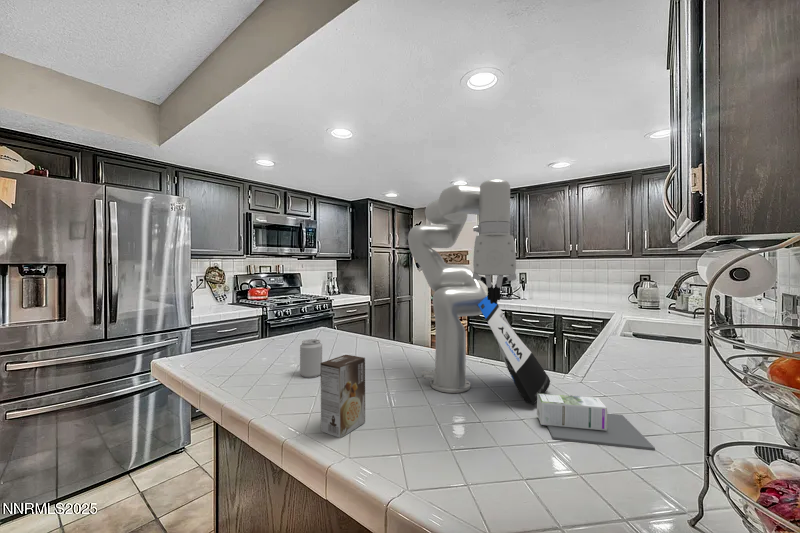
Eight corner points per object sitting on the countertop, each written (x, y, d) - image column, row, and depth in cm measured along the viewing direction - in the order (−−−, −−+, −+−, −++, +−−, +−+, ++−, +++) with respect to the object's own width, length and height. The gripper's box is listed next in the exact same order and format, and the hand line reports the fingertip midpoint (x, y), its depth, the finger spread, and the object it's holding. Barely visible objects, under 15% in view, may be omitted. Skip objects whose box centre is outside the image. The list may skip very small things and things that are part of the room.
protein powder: (550, 367, 111) (503, 286, 115) (550, 399, 89) (492, 297, 93) (523, 377, 114) (478, 298, 118) (517, 410, 92) (463, 311, 96)
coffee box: (345, 416, 86) (346, 353, 86) (366, 422, 83) (366, 357, 83) (319, 431, 79) (319, 362, 78) (340, 439, 75) (340, 366, 75)
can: (326, 373, 119) (326, 339, 119) (310, 380, 113) (310, 344, 113) (311, 370, 123) (311, 337, 123) (295, 375, 117) (295, 341, 117)
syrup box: (540, 425, 81) (607, 432, 78) (541, 401, 81) (608, 407, 78) (536, 414, 87) (598, 420, 84) (536, 391, 86) (599, 397, 83)
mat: (552, 439, 76) (552, 437, 76) (539, 409, 91) (539, 407, 91) (654, 450, 71) (655, 447, 71) (622, 416, 87) (622, 414, 87)
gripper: (463, 229, 84) (463, 304, 84) (527, 228, 80) (527, 305, 81) (464, 232, 91) (464, 300, 91) (523, 231, 88) (522, 302, 88)
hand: (493, 303), depth 86 cm, fingers closed
